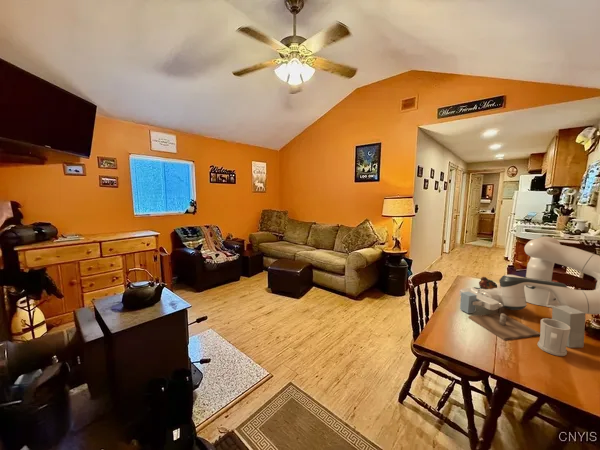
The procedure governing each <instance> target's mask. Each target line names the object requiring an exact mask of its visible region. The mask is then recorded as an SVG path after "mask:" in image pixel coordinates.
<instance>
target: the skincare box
mask: <svg viewBox="0 0 600 450" xmlns="http://www.w3.org/2000/svg"><path fill="white" fill-rule="evenodd" d="M551 316H552V317H551V319H553V320H557V321H560V322H563V323H565V324H567V325H568V326H570V328H571V329H570V332H569V336H568V340H567V345H566V348H571V349H572V348H573V349H574V348H584V345H585V344H584V343H585V328H586V327H585V326H586V313H584V312H581V311H579V310H576V309H574V308H572V307H569V306H567V305H563V306H553V308H552V312H551Z"/></svg>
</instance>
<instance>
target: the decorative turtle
mask: <svg viewBox="0 0 600 450" xmlns="http://www.w3.org/2000/svg"><path fill="white" fill-rule="evenodd" d="M478 285H479V288H480V289H493V288H498V284H497V283H496V282H495V281H493V280H491V279H488V278H487V277H486V276H482V277H480V280H479V282H478Z"/></svg>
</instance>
